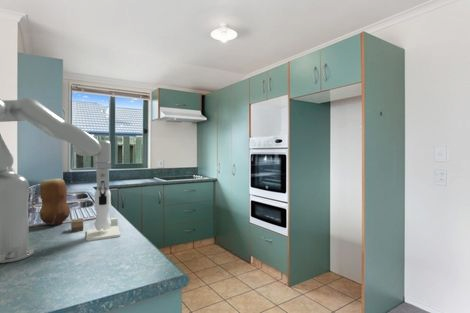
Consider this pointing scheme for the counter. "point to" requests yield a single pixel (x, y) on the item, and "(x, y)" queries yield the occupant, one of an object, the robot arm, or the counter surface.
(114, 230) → the placemat
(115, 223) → the pale grey block
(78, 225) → the walnut block
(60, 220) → the butternut squash
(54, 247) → the counter surface
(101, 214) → the water bottle
